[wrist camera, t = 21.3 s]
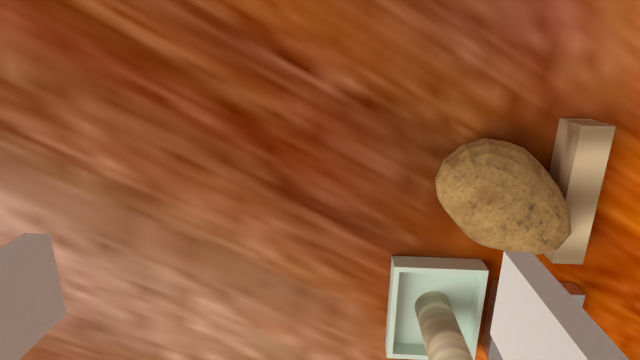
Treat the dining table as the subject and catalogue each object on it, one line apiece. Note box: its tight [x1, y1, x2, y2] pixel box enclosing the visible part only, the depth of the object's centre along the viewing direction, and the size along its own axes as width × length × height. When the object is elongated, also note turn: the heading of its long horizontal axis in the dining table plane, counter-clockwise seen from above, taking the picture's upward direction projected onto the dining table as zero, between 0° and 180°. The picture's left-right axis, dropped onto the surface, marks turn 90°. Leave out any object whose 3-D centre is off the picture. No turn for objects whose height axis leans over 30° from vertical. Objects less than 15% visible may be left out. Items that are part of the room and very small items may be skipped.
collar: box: [481, 279, 585, 360], centre depth 47 cm, size 9×9×2 cm
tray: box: [385, 256, 489, 360], centre depth 47 cm, size 12×10×2 cm
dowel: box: [415, 292, 473, 360], centre depth 41 cm, size 4×4×14 cm
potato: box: [435, 138, 572, 255], centre depth 40 cm, size 10×14×8 cm
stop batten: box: [543, 118, 616, 264], centre depth 41 cm, size 14×3×4 cm, turn 179°
